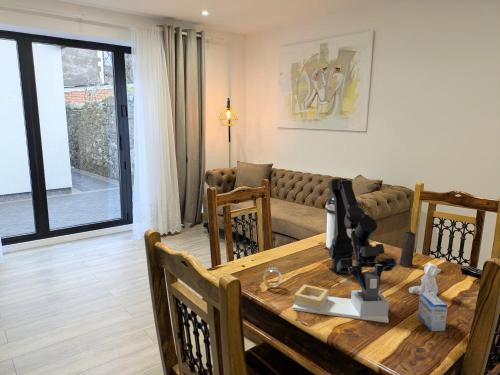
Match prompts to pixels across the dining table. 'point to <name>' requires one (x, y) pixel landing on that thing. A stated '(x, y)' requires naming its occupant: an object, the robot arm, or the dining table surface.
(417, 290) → the white creature statuette
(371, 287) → the plug
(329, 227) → the coffee press
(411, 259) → the butter churn
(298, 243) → the dining table surface
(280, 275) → the ring
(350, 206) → the robot arm
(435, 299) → the medicine box
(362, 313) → the raised dock
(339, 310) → the panel board
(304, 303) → the low dock
